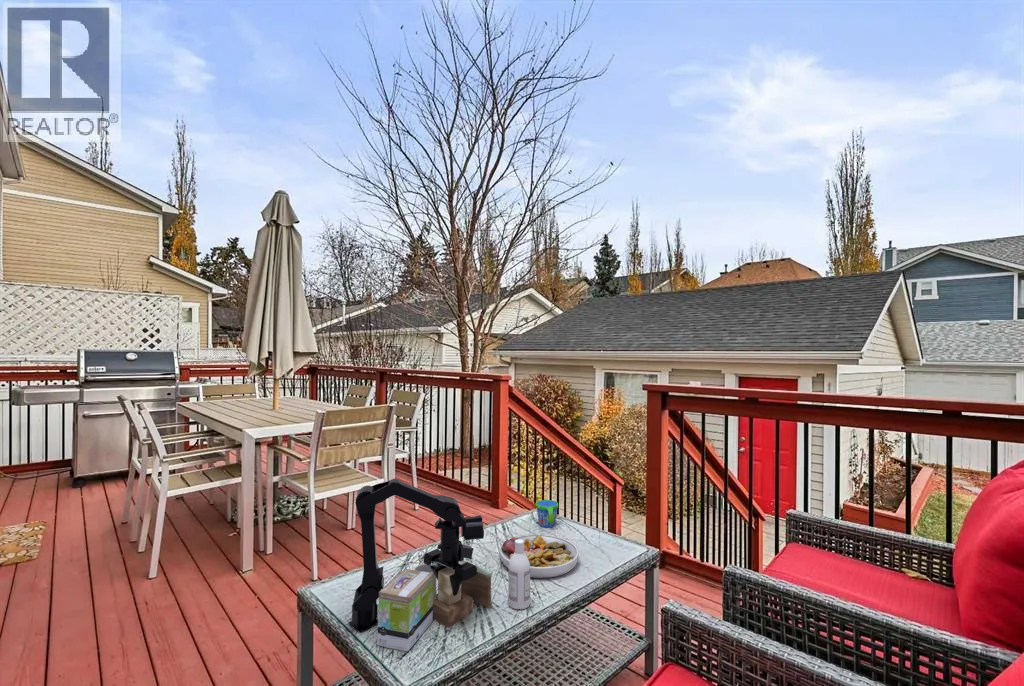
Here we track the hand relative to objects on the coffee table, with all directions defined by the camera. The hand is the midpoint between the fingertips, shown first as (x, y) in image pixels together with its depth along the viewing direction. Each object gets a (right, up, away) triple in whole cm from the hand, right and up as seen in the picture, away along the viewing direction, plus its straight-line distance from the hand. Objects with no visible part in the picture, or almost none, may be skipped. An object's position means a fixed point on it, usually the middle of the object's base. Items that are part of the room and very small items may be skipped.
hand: (449, 592), depth 141 cm
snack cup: (+36, -9, +73) cm, 82 cm away
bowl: (+30, -8, +35) cm, 47 cm away
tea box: (-11, -7, -10) cm, 16 cm away
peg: (0, -4, 0) cm, 4 cm away
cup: (-10, -7, +11) cm, 17 cm away
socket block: (+2, -7, +2) cm, 7 cm away
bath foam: (+22, -7, +5) cm, 23 cm away
